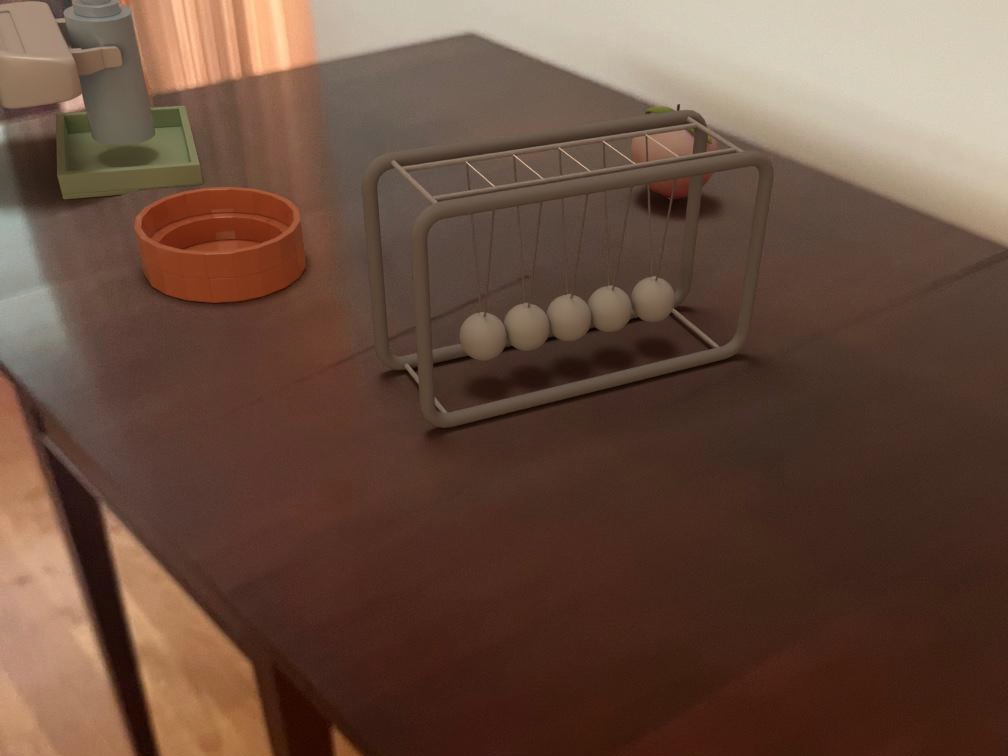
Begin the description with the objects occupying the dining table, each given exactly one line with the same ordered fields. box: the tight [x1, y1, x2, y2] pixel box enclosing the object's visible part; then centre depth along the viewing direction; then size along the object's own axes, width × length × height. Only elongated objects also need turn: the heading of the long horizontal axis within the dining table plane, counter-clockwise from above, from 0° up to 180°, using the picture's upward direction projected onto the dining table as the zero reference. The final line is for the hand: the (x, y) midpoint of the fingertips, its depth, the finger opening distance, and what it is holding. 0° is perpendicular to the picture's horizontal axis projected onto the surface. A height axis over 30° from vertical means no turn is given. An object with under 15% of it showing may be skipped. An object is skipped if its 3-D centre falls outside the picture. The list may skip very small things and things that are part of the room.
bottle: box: [62, 0, 156, 145], centre depth 118 cm, size 6×6×16 cm
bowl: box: [133, 186, 307, 304], centre depth 106 cm, size 14×14×5 cm
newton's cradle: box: [361, 109, 774, 429], centre depth 92 cm, size 30×10×18 cm, turn 119°
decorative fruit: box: [630, 103, 720, 200], centre depth 121 cm, size 9×8×10 cm
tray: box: [55, 105, 204, 200], centre depth 124 cm, size 18×14×2 cm
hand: (113, 43), depth 117 cm, fingers closed on bottle, 6 cm apart
